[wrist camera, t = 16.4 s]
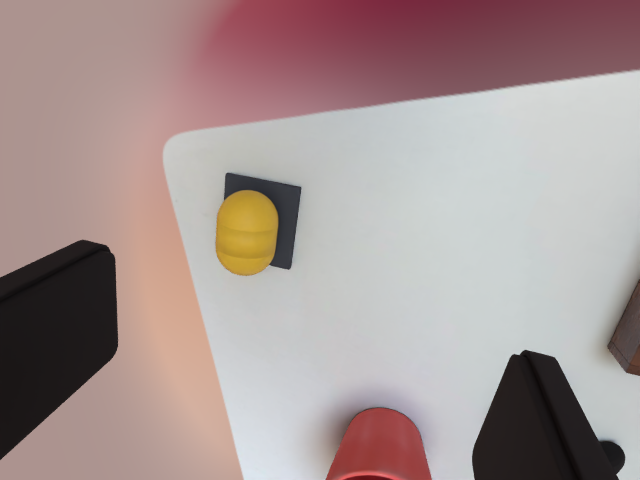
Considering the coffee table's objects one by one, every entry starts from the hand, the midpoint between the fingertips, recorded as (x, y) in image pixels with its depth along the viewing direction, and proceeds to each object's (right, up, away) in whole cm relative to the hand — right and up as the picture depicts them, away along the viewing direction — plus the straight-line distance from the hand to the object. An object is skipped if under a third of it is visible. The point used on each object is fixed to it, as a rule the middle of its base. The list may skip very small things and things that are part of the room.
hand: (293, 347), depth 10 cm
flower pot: (+8, -18, +35) cm, 40 cm away
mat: (-5, +4, +29) cm, 30 cm away
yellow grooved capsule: (-5, +4, +29) cm, 30 cm away
